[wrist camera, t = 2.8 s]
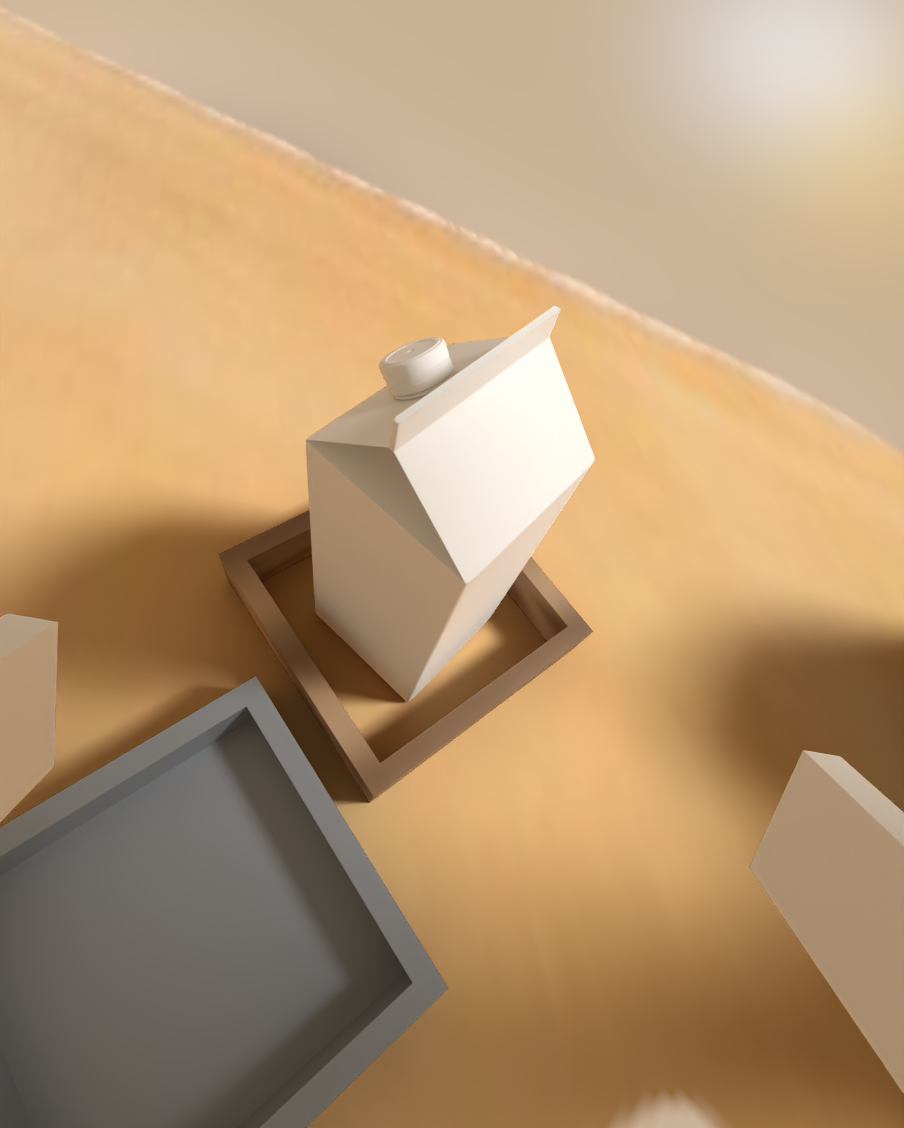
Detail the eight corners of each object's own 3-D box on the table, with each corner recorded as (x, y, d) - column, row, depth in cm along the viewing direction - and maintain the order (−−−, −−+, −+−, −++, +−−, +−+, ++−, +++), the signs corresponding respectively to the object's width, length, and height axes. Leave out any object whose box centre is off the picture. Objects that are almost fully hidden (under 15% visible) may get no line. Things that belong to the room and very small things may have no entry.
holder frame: (572, 649, 33) (592, 631, 31) (369, 802, 28) (373, 796, 25) (432, 476, 37) (439, 447, 34) (228, 579, 31) (218, 554, 29)
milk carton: (491, 617, 33) (652, 376, 17) (407, 705, 30) (503, 513, 13) (403, 538, 35) (472, 241, 18) (313, 614, 31) (296, 338, 15)
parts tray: (435, 974, 25) (448, 988, 22) (72, 1321, 19) (31, 1396, 16) (262, 692, 29) (255, 675, 26) (-83, 902, 23) (-137, 908, 20)
